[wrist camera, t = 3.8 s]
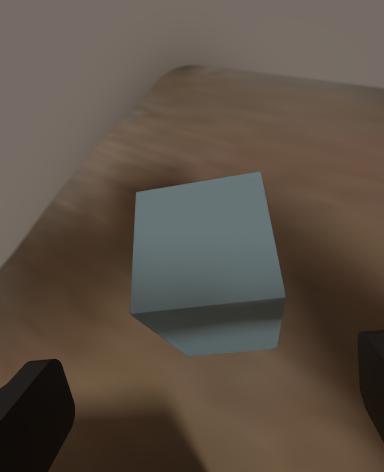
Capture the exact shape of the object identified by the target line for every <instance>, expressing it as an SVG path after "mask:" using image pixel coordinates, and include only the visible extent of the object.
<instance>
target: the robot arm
mask: <svg viewBox="0 0 384 472" xmlns="http://www.w3.org/2000/svg"><path fill="white" fill-rule="evenodd" d="M358 357H359V379H360V390H361V394H362V398H363V402H364V405H365V407H366V410H367V412H368V414H369V416H370V418H371V420H372V422H373V423H374V425H375V427H376V429H377V431H378V433H379V435H380V437H381V438H382V440H383V442H384V330H377V331H366V332H360V333H359V334H358ZM74 417H75V404H74V401H73V397H72V394H71V391H70V388H69V385H68V382H67V379H66V376H65V373H64V370H63V367H62V364H61V362H60V361H59V360H57V359H48V360H37V361H29V362H27V363H26V364H25V365H24V366H23V367H22V368H21V369H20V370H19V371H18V372H17V374H16V375H15V376H14V377H13V378H12V379H11V380H10V381H9V382H8V383H7V384H6V385H5V386H3V387H2V388H0V472H48V470H49V468H50V466H51V465H52V463H53V461H54V459H55V457H56V455H57V454H58V452H59V450H60V448H61V446H62V444H63V443H64V441H65V439H66V437H67V435H68V433H69V432H70V430H71V428H72V425H73V422H74Z"/></svg>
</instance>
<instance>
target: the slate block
mask: <svg viewBox="0 0 384 472" xmlns="http://www.w3.org/2000/svg"><path fill="white" fill-rule="evenodd" d="M285 300H286V295H285V290H284V285H283V280H282V275H281V270H280V265H279V260H278V255H277V250H276V245H275V241H274V236H273V231H272V226H271V221H270V216H269V211H268V206H267V201H266V196H265V191H264V186H263V181H262V176H261V172H255V173H249V174H243V175H237V176H231V177H225V178H219V179H213V180H207V181H201V182H195V183H189V184H183V185H177V186H171V187H165V188H159V189H153V190H147V191H141V192H136V204H135V224H134V244H133V263H132V283H131V303H130V314H131V315H132V316H133V317H135V318H136V319H137V320H139V321H140V322H142V323H143V324H144V325H146V326H147V327H148V328H150V329H151V330H152V331H154V332H155V333H156V334H158V335H159V336H161V337H162V338H163V339H165V340H166V341H167V342H169V343H170V344H171V345H173V346H174V347H175V348H177V349H178V350H179V351H181V352H182V353H184V354H185V355H186V356H197V355H209V354H221V353H233V352H245V351H257V350H269V349H277V344H278V338H279V333H280V327H281V322H282V316H283V311H284V305H285Z"/></svg>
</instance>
